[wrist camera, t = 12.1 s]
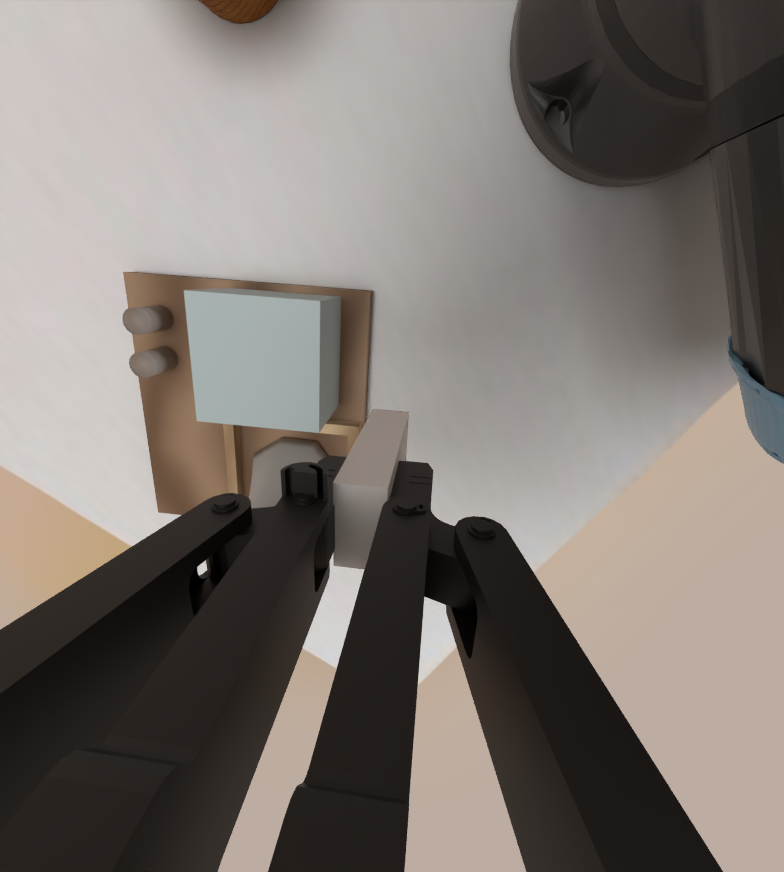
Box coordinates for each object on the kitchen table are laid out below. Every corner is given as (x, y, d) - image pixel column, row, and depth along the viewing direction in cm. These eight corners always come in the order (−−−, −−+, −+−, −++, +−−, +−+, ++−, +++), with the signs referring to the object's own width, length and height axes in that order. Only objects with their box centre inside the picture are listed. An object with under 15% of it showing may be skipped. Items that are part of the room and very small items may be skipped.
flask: (325, 427, 33) (284, 485, 24) (349, 506, 36) (320, 587, 26) (241, 444, 35) (171, 505, 25) (270, 519, 37) (216, 601, 28)
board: (372, 290, 31) (364, 292, 27) (360, 529, 38) (352, 558, 34) (134, 272, 32) (92, 271, 28) (166, 508, 39) (136, 534, 35)
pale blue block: (341, 296, 30) (320, 301, 24) (338, 405, 33) (319, 433, 27) (231, 287, 30) (183, 290, 24) (237, 396, 33) (196, 421, 27)
